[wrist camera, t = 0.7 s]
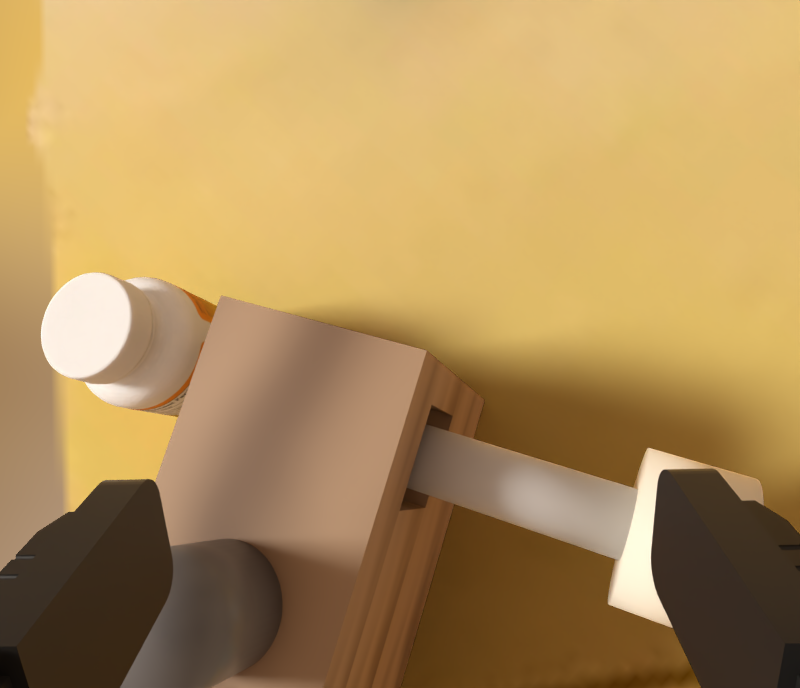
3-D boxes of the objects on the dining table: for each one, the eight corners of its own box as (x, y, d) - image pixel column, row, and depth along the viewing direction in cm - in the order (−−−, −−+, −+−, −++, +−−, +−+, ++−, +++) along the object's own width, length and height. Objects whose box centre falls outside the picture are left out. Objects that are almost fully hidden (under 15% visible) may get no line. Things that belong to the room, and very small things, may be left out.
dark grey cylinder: (272, 527, 19) (191, 537, 15) (291, 663, 18) (212, 709, 14) (162, 551, 19) (60, 566, 16) (176, 683, 18) (70, 733, 15)
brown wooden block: (484, 400, 29) (426, 350, 18) (367, 799, 27) (228, 995, 16) (343, 359, 31) (220, 295, 21) (225, 725, 29) (22, 857, 19)
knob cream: (736, 478, 21) (776, 476, 17) (701, 626, 21) (733, 664, 16) (412, 385, 25) (373, 363, 21) (374, 508, 24) (326, 512, 20)
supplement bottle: (174, 330, 34) (22, 271, 25) (268, 307, 33) (145, 236, 24) (181, 433, 33) (22, 411, 23) (279, 413, 31) (153, 382, 22)
